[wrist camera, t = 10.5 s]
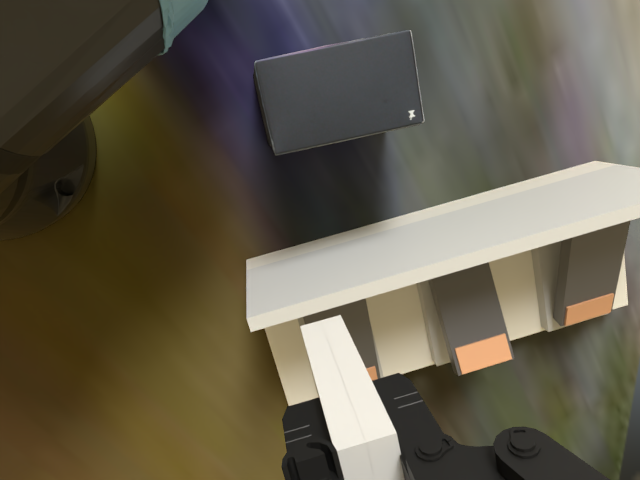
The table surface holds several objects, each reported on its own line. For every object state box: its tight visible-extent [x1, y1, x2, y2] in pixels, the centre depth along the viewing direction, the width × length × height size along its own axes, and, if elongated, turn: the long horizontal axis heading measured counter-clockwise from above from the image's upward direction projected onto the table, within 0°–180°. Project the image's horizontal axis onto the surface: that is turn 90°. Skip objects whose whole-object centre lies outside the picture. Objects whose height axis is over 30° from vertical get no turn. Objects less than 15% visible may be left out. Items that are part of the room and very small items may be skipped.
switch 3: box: [553, 221, 630, 326], centre depth 42 cm, size 5×10×1 cm, turn 14°
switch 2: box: [428, 262, 515, 376], centre depth 42 cm, size 5×10×1 cm, turn 15°
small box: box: [253, 30, 425, 156], centre depth 37 cm, size 11×6×10 cm, turn 102°
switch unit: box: [246, 161, 640, 406], centre depth 41 cm, size 34×14×13 cm, turn 104°
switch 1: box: [303, 298, 381, 380], centre depth 41 cm, size 5×10×1 cm, turn 14°
